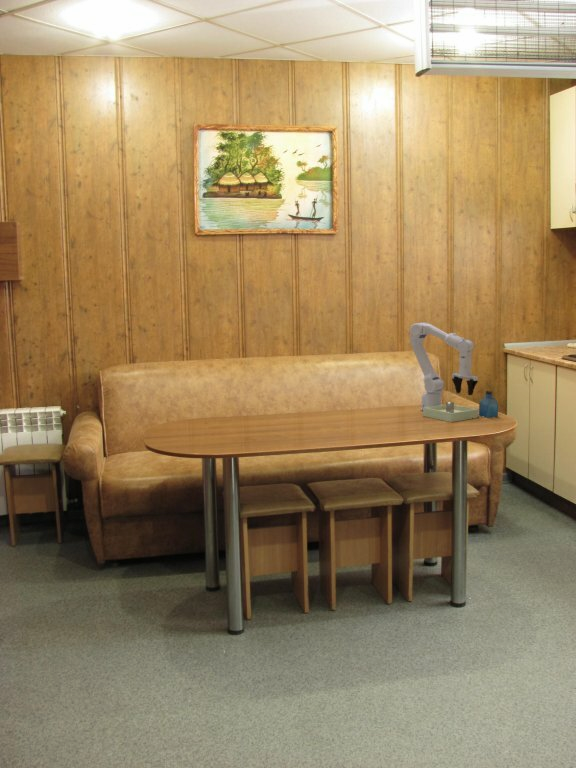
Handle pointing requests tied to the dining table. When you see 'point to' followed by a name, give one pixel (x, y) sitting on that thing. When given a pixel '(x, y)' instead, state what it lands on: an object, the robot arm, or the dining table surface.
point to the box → (458, 414)
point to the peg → (450, 407)
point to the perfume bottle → (488, 406)
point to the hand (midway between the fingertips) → (464, 393)
